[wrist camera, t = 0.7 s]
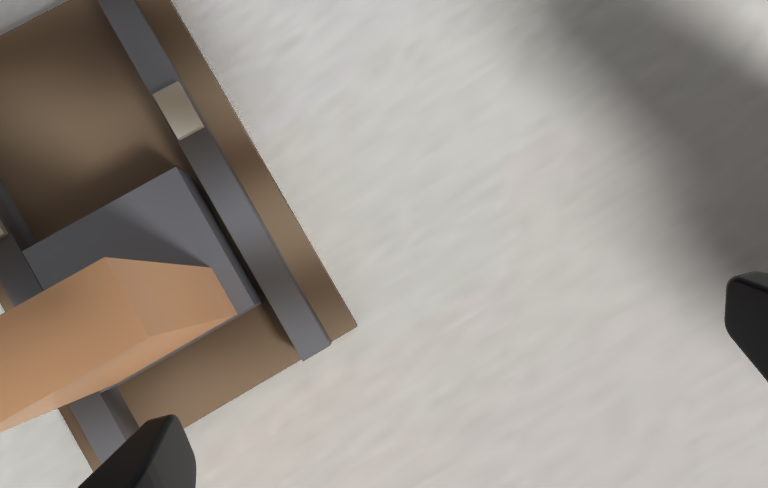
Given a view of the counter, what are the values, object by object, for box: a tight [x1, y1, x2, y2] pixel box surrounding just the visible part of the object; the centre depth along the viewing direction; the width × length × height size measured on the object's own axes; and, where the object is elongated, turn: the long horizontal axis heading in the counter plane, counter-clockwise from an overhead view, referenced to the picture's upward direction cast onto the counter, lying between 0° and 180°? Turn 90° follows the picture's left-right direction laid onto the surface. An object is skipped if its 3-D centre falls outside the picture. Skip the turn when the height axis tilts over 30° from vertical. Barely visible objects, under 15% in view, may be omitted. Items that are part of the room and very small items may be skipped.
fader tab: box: [0, 167, 263, 432], centre depth 18 cm, size 6×6×11 cm
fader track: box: [0, 0, 357, 472], centre depth 24 cm, size 18×12×3 cm, turn 30°
